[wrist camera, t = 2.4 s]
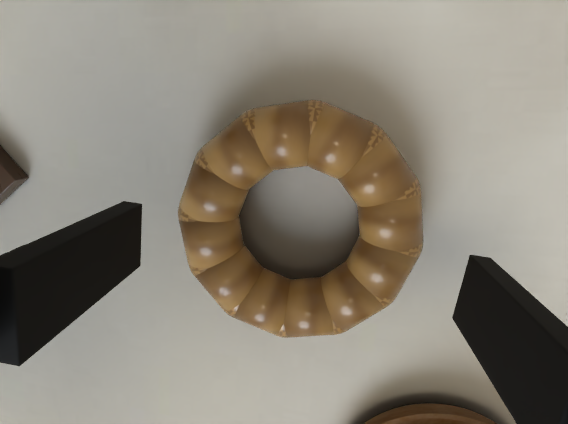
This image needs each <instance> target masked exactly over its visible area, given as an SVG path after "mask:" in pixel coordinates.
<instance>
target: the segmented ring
mask: <svg viewBox="0 0 568 424" xmlns="http://www.w3.org/2000/svg"><path fill="white" fill-rule="evenodd" d="M302 166H308V167H311V168H313V169H315V170H318V171H320V172H322V173H325V174H327V175H330V176H332V177H334V178H337V179H338V180H339V181H340V182H341V184H342V185H343V186H344V188H345V189H346V190H347V192H348V193H349V194H350V196H351V197H352V199H353V200H354V201H355V203H356V204H357V209H358V220H359V231H360V235H359V237H358V239H357V241H356V243H355V245H354V247H353V249H352V251H351V253H350V255H349V257H348V259H347V261H345V262H344V263H342V264H341V265H339V266H338V267H336V268H335V269H333V270H331V271H330V272H328V273H327V274H325V275H324V276H322V277H314V278H302V279H289V278H287V277H284V276H282V275H279V274H277V273H275V272H272V271H270V270H268V269H265V268H263V267H262V266H261V265H260V264H259V262H258V261H257V260H256V259H255V257H254V256H253V255H252V254H251V253H250V251H249V250H248V249H247V248H246V246H245V245H244V243H243V237H242V231H241V225H240V219H239V214H240V212H241V209H242V206H243V204H244V201H245V199H246V196H247V194H248V191H249V189H250V188H251V187H252V186H254V185H255V184H256V183H258V182H259V181H260V180H261V179H263V178H264V177H265V176H267V175H268V174H269V173H271V172H272V171H273V170H278V169H286V168H294V167H302ZM178 217H179V223H180V227H181V232H182V237H183V241H184V246H185V251H186V256H187V260H188V264H189V267H190V270H191V272H192V273H193V275H194V276H195V277H196V278H197V279H198V281H199V282H200V283H201V284H202V285H203V286H204V288H205V289H206V290H207V291H208V292H209V294H210V295H211V296H212V297H213V298H214V299H215V301H216V302H217V303H218V304H219V305H220V306H221V308H222V309H223V310H224V311H225V312H226V313H227V314H228V315H230V316H232V317H234V318H236V319H239V320H241V321H243V322H246V323H248V324H250V325H253V326H255V327H258V328H260V329H262V330H265V331H267V332H269V333H272V334H274V335H277V336H280V337H303V336H319V335H335V334H340V333H343V332H345V331H347V330H349V329H351V328H352V327H354V326H356V325H357V324H359V323H361V322H362V321H364V320H366V319H367V318H369V317H371V316H372V315H374V314H376V313H377V312H379V311H381V310H382V309H384V308H386V307H387V306H388V305H390V304H391V303H392V302H393V301H394V300H395V298H396V297H397V295H398V293H399V291H400V290H401V288H402V286H403V284H404V282H405V281H406V279H407V277H408V275H409V274H410V272H411V270H412V268H413V266H414V265H415V263H416V261H417V259H418V257H419V256H420V254H421V251H422V248H423V224H422V202H421V187H420V184H419V181H418V179H417V177H416V175H415V174H414V173H413V171H412V170H411V168H410V167H409V165H408V164H407V163H406V161H405V160H404V158H403V157H402V155H401V154H400V153H399V151H398V150H397V148H396V147H395V145H394V144H393V143H392V141H391V140H390V138H389V137H388V136H387V134H386V133H385V132H384V131H383V130H382V128H380V127H379V126H378V125H376V124H374V123H372V122H370V121H367V120H365V119H362V118H360V117H358V116H355V115H353V114H351V113H348V112H346V111H344V110H341V109H339V108H337V107H334V106H332V105H330V104H327V103H325V102H322V101H318V100H306V101H299V102H292V103H285V104H278V105H271V106H264V107H258V108H253V109H250V110H248V111H246V112H244V113H243V114H241V115H240V116H239V117H238V118H237V119H235V120H234V121H233V122H232V123H231V124H229V125H228V126H227V127H226V128H225V129H223V130H222V131H221V132H220V133H219V134H217V135H216V136H215V137H214V138H213V139H211V140H210V141H209V142H208V143H207V144H205V145H204V146H203V147H202V148H201V149H200V150H199V152H198V153H197V155H196V157H195V159H194V162H193V165H192V168H191V171H190V174H189V177H188V180H187V183H186V186H185V189H184V192H183V195H182V198H181V201H180V204H179V209H178Z"/></svg>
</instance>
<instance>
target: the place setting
mask: <svg viewBox="0 0 568 424" xmlns="http://www.w3.org/2000/svg"><path fill="white" fill-rule="evenodd" d="M364 424H497V423H495V422H494V421H492V420H490V419H488V418H486V417H485V416H483V415H481V414H478V413H476V412H473V411H471V410H468V409H464V408H461V407H457V406H452V405H445V404H432V403H424V404H412V405H406V406H401V407H398V408H394V409H391V410H388V411H386V412H383V413H381V414H379V415H377V416H375V417H373V418H371V419H370V420H368V421H367V422H365V423H364Z"/></svg>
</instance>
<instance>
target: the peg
mask: <svg viewBox="0 0 568 424" xmlns="http://www.w3.org/2000/svg"><path fill="white" fill-rule="evenodd" d="M28 178H29V177H28V176H27V175H26V174H25V173H24V171H23V170H22V169H21V168H20V167H19V166H18V165H17V164H16V163H15V161H14V160H13V159H12V158H11V157H10V156H9V155H8V154H7V152H6V151H5V150H4V149H3V148H2V147H1V146H0V204H1V203H2V202H3V201H5V200H6V199H7V198H8V197H9V196H10V195H11V194H12V193H13V192H14V191H15V190H16V189H17V188H18V187H19V186H20V185H21V184H23V183H24V182H25V181H26V180H27V179H28Z"/></svg>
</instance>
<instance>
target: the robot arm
mask: <svg viewBox="0 0 568 424" xmlns="http://www.w3.org/2000/svg"><path fill="white" fill-rule="evenodd" d="M141 221H142V204H139V203H132V202H126V201H123V202H121V203H119V204H117V205H114V206H112V207H110V208H108V209H105V210H103V211H101V212H99V213H96V214H94V215H92V216H90V217H87V218H85V219H83V220H81V221H78V222H76V223H74V224H72V225H69V226H67V227H65V228H63V229H60V230H58V231H56V232H54V233H51V234H49V235H47V236H45V237H42V238H40V239H38V240H36V241H33V242H31V243H29V244H26V245H23V246H20V247H18V248H16V249H14V250H11V251H10V252H7V253H5V254H2V255H0V362H1V363H6V364H11V365H16V366H20V365H21V364H23V363H24V362H25V361H26V360H28V359H29V358H30V357H31V356H32V355H34V354H35V353H36V352H37V351H38V350H40V349H41V348H42V347H43V346H44V345H46V344H47V343H48V342H49V341H50V340H52V339H53V338H54V337H55V336H56V335H58V334H59V333H60V332H61V331H62V330H64V329H65V328H66V327H67V326H68V325H70V324H71V323H72V322H73V321H75V320H76V319H77V318H78V317H79V316H81V315H82V314H83V313H84V312H85V311H87V310H88V309H89V308H90V307H91V306H93V305H94V304H95V303H96V302H97V301H99V300H100V299H101V298H102V297H103V296H105V295H106V294H107V293H108V292H109V291H111V290H112V289H113V288H114V287H115V286H117V285H118V284H119V283H120V282H122V281H123V280H124V279H125V278H126V277H128V276H129V275H130V274H131V273H132V272H134V271H135V270H136V269H137V268H138V267H140V258H141ZM452 318H453V320H454V321H455V323H456V325H457V326H458V328H459V330H460V331H461V333H462V335H463V336H464V338H465V339H466V341H467V343H468V344H469V346H470V348H471V349H472V351H473V353H474V354H475V356H476V358H477V359H478V361H479V362H480V364H481V366H482V367H483V369H484V371H485V372H486V374H487V376H488V377H489V379H490V381H491V382H492V384H493V385H494V387H495V389H496V390H497V392H498V394H499V395H500V397H501V399H502V400H503V402H504V404H505V405H506V407H507V408H508V410H509V412H510V413H511V415H512V417H513V418H514V420H515V422H516V423H517V424H568V327H567V326H566V325H565V324H564V323H563V322H562V321H560V320H559V319H558V318H557V317H556V316H555V315H554V314H553V313H551V312H550V311H549V310H548V309H547V308H546V307H545V306H544V305H543V304H541V303H540V302H539V301H538V300H537V299H536V298H535V297H534V296H532V295H531V294H530V293H529V292H528V291H527V290H526V289H525V288H524V287H522V286H521V285H520V284H519V283H518V282H517V281H516V280H515V279H513V278H512V277H511V276H510V275H509V274H508V273H507V272H506V271H505V270H503V269H502V268H501V267H500V266H499V265H498V264H497V263H496V262H494V261H493V260H492V259H491V258H488V257H481V256H475V255H470V256H469V260H468V264H467V267H466V271H465V274H464V278H463V282H462V285H461V289H460V292H459V296H458V300H457V303H456V307H455V310H454V314H453V317H452Z"/></svg>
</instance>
